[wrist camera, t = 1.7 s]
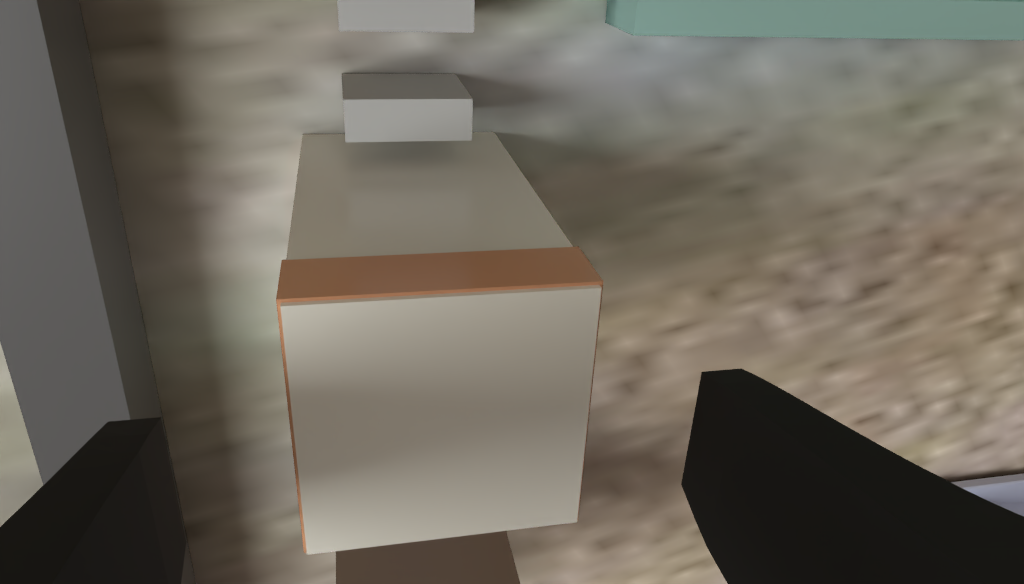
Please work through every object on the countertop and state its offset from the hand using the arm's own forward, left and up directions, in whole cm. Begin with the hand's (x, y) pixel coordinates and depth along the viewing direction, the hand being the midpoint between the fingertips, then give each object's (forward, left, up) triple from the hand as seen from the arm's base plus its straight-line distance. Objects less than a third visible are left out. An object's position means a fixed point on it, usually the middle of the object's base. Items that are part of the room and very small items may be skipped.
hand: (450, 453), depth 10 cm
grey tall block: (0, 0, -9) cm, 9 cm away
